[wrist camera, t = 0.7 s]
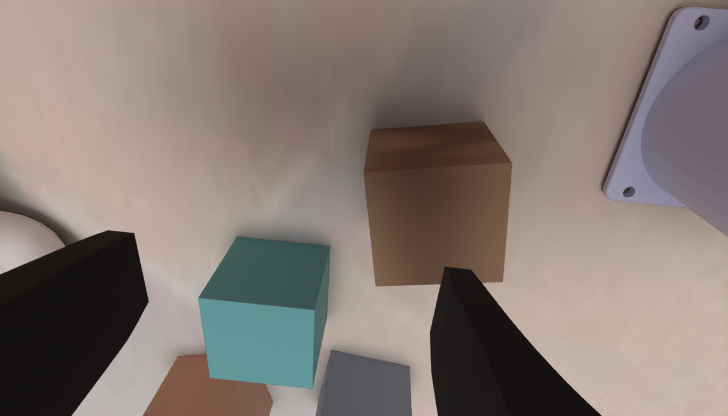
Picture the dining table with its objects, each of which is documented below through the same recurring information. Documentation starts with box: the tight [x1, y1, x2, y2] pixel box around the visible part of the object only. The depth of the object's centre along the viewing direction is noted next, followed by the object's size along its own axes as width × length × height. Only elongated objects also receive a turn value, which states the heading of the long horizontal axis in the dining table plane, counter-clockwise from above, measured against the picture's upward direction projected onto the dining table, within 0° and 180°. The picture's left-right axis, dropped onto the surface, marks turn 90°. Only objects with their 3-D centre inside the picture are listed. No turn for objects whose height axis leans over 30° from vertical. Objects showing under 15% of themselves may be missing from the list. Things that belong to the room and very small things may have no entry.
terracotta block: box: [143, 354, 273, 416], centre depth 25 cm, size 5×5×5 cm
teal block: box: [198, 237, 330, 389], centre depth 21 cm, size 5×5×5 cm
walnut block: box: [364, 122, 512, 286], centre depth 17 cm, size 5×5×5 cm
